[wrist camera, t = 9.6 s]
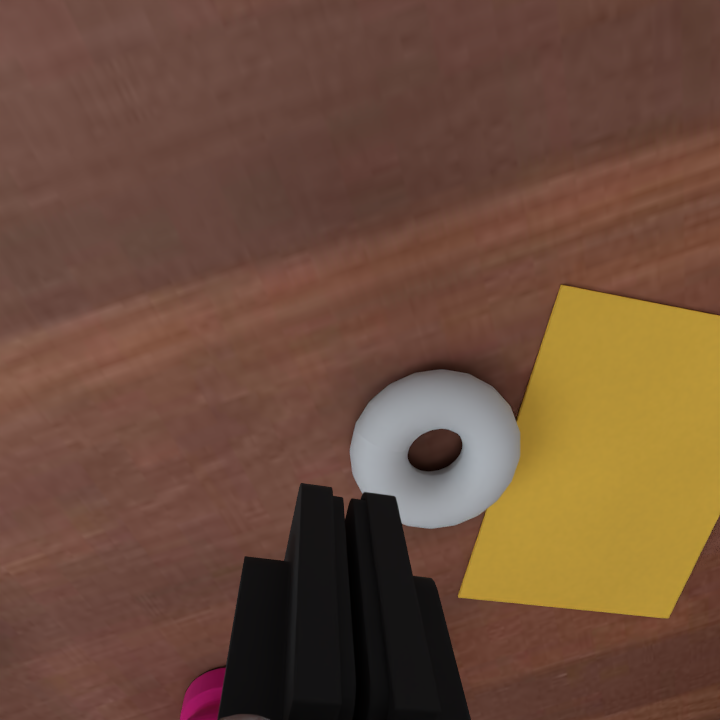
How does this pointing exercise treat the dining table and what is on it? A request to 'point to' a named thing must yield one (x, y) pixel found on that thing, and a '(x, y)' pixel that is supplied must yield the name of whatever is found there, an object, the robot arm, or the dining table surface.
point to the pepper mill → (204, 696)
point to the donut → (429, 412)
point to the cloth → (609, 462)
